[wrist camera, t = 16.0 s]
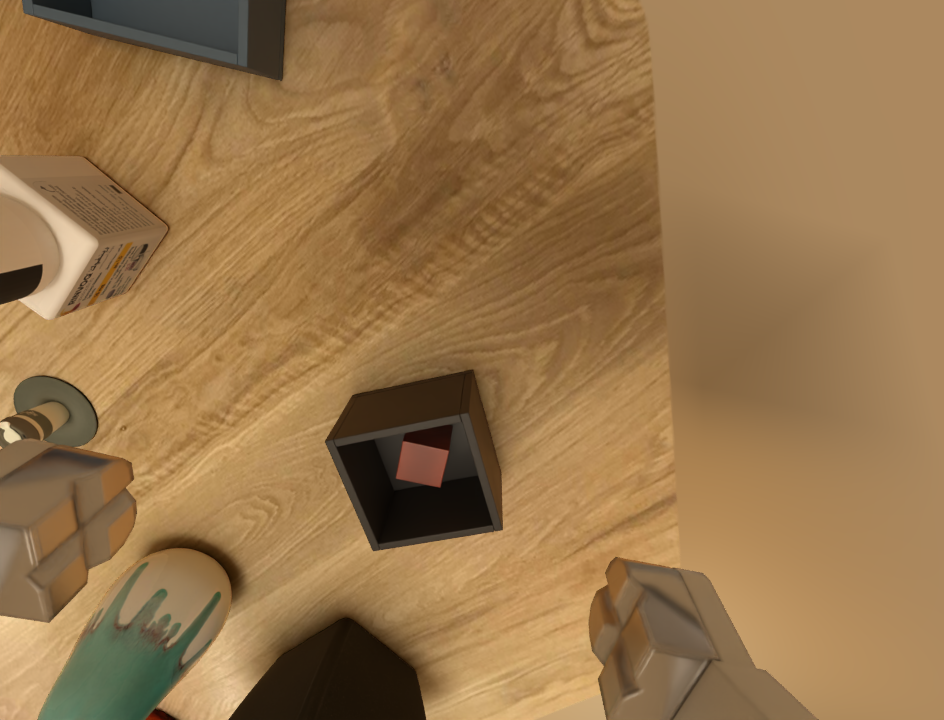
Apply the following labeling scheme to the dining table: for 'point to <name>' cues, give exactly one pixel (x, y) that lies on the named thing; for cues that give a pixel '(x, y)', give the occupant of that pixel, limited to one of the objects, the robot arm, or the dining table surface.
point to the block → (425, 455)
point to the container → (68, 234)
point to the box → (183, 28)
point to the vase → (142, 638)
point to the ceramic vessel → (158, 716)
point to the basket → (408, 503)
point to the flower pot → (336, 681)
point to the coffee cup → (49, 414)
